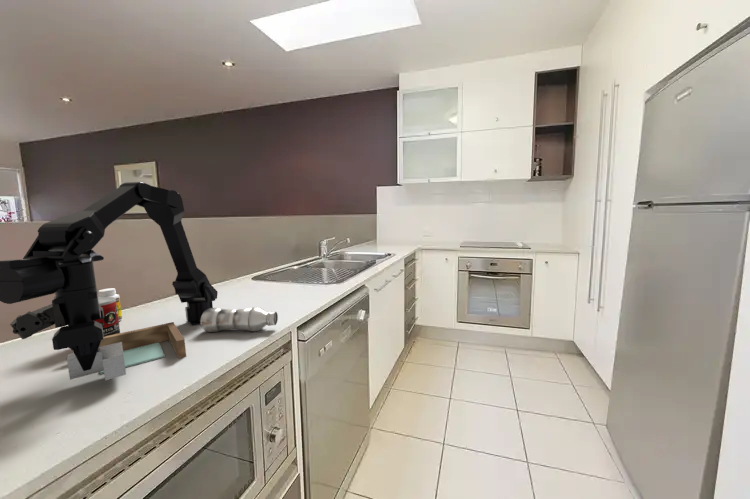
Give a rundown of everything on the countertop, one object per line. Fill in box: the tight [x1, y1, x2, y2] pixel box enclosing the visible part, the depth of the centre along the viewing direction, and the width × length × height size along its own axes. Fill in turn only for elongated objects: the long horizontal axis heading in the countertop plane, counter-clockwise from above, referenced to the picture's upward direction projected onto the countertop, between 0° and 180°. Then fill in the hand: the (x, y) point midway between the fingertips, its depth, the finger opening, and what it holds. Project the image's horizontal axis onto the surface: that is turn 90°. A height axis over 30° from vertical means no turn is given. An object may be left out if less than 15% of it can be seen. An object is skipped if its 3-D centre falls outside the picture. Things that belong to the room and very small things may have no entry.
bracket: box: [66, 342, 127, 381], centre depth 60 cm, size 8×8×4 cm
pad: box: [99, 342, 165, 375], centre depth 71 cm, size 11×10×1 cm
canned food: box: [94, 297, 121, 337], centre depth 80 cm, size 8×8×11 cm
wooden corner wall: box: [99, 321, 187, 359], centre depth 71 cm, size 19×16×4 cm
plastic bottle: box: [200, 306, 279, 333], centre depth 86 cm, size 6×7×20 cm
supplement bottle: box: [98, 287, 123, 322], centre depth 96 cm, size 6×6×10 cm
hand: (87, 366), depth 61 cm, fingers closed on bracket, 3 cm apart
